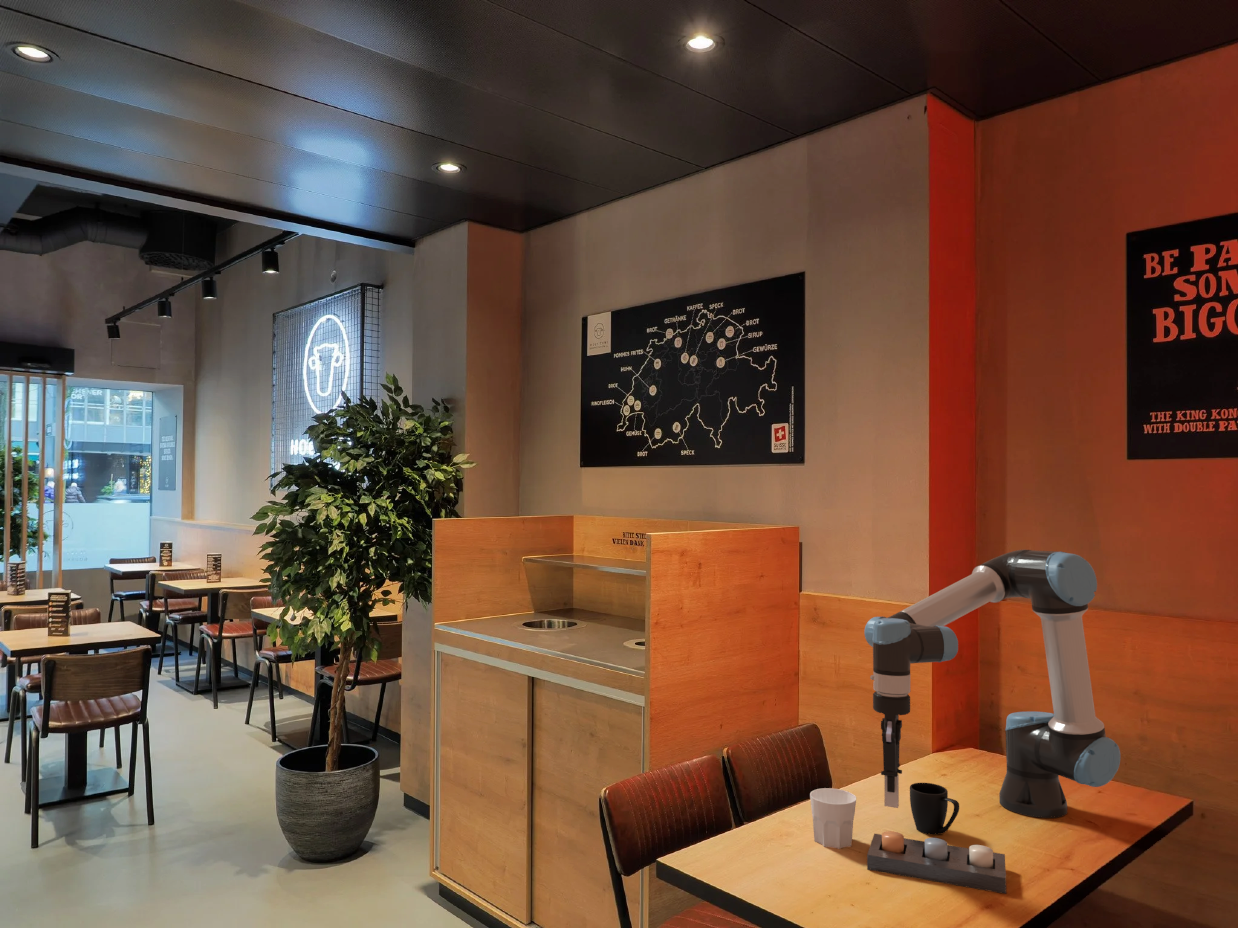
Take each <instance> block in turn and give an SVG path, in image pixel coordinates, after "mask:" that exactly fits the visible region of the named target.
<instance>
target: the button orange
mask: <svg viewBox="0 0 1238 928" xmlns="http://www.w3.org/2000/svg"><path fill="white" fill-rule="evenodd" d="M881 835H882V851H888V852H894V853H900V854H904V838H905V836H904V835H903V834H902V833H900V832H898V831H891V830H888V831H887V830H886V831H884V832H882V833H881Z"/></svg>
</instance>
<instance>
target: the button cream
mask: <svg viewBox="0 0 1238 928" xmlns="http://www.w3.org/2000/svg"><path fill="white" fill-rule="evenodd" d="M968 848H969V862H970V865H972V866H978V867H984V868H990V869H993V852H994V850H993V848H991V847H988V846H985V845H984V844H983V845H982V844H981V845H980V844H972V845H970V846H969V847H968Z"/></svg>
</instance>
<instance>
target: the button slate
mask: <svg viewBox="0 0 1238 928" xmlns="http://www.w3.org/2000/svg"><path fill="white" fill-rule="evenodd" d="M924 841H925V858H930V859H936V860H942V861H948V851H947V845H948V841H946V840H944V839H941V838H937V837H928V838H925V839H924Z"/></svg>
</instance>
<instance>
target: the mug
mask: <svg viewBox="0 0 1238 928" xmlns="http://www.w3.org/2000/svg"><path fill="white" fill-rule="evenodd" d="M948 796H949V794H948V789H947V788H946V787H944V786H942V785H939V784H937V783H932V782H931V783H930V782H915V783H912V784H910V786H909V802H910V810H911V814H912V815H911V816H912V819H913V821H914V825H915V828H916V831H918V832H919V833H921V834H925V835H931V836H933V835H934V836H935V835H940V834H945V833H946V832H948V830H949V829H950V827H951V826H952V824H953V823H954V821H955V820H956V818H957V816H958V814H959V811H960V803H959V801H958V800H956V799H954V798H949V797H948ZM949 803H951V804H952V805H953V811H952V814H951V816H950V818H949V820H948V821H947V823H946V824H945V822H946V817H947V813H948V807H949V805H948V804H949ZM944 825H945V826H944Z"/></svg>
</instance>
